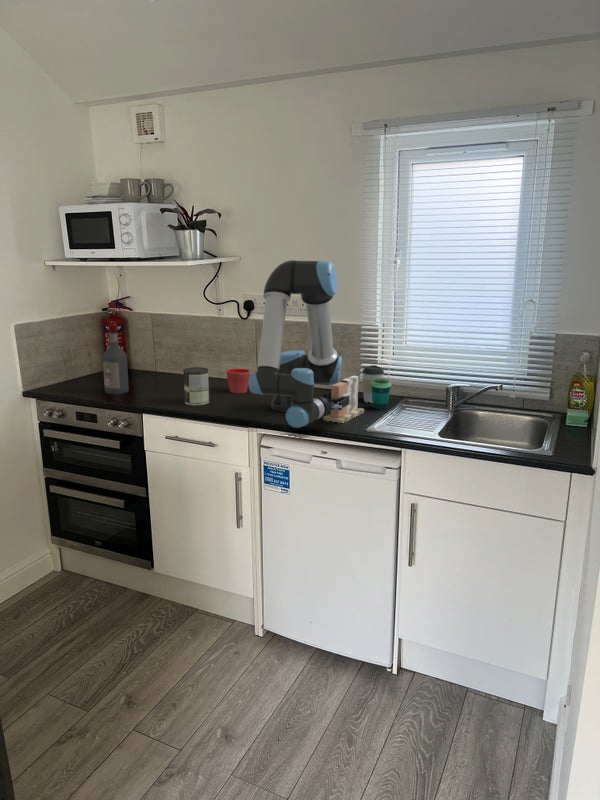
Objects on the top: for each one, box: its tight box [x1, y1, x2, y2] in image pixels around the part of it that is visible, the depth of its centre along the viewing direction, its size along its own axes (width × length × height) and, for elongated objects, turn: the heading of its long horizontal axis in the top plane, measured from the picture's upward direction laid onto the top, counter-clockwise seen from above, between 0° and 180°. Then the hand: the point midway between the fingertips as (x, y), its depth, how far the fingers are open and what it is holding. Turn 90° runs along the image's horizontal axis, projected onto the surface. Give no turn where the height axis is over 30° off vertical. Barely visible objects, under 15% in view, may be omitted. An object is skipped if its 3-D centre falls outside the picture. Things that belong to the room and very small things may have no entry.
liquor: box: [102, 324, 130, 396], centre depth 271 cm, size 9×9×30 cm
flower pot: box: [226, 368, 251, 394], centre depth 277 cm, size 11×11×10 cm
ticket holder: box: [323, 375, 365, 424], centre depth 238 cm, size 19×8×14 cm, turn 149°
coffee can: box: [182, 366, 210, 406], centre depth 257 cm, size 10×10×14 cm
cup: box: [371, 377, 392, 410], centre depth 251 cm, size 8×8×12 cm
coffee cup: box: [362, 364, 385, 404], centre depth 262 cm, size 9×9×15 cm
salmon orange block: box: [330, 381, 347, 417], centre depth 233 cm, size 7×3×12 cm, turn 149°
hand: (345, 395), depth 238 cm, fingers closed on salmon orange block, 3 cm apart
